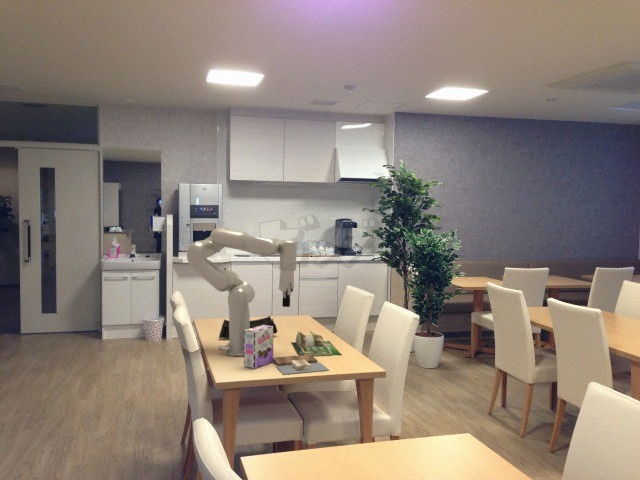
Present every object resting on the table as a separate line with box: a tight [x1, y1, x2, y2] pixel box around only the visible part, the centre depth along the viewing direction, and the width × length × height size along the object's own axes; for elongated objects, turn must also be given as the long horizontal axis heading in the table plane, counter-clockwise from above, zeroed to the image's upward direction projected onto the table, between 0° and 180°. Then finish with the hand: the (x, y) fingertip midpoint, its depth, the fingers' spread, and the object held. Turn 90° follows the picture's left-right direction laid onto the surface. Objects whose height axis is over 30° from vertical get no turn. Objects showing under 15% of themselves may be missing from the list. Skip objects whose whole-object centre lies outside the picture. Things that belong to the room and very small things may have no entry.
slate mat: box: [275, 361, 330, 376], centre depth 240 cm, size 20×12×1 cm, turn 110°
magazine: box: [218, 315, 278, 340], centre depth 297 cm, size 17×3×30 cm
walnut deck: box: [272, 355, 319, 366], centre depth 250 cm, size 18×10×2 cm, turn 110°
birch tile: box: [291, 360, 311, 371], centre depth 241 cm, size 6×9×2 cm, turn 20°
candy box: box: [243, 325, 274, 370], centre depth 246 cm, size 14×6×16 cm, turn 148°
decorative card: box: [290, 331, 342, 358], centre depth 277 cm, size 33×8×20 cm
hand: (286, 306), depth 260 cm, fingers closed
